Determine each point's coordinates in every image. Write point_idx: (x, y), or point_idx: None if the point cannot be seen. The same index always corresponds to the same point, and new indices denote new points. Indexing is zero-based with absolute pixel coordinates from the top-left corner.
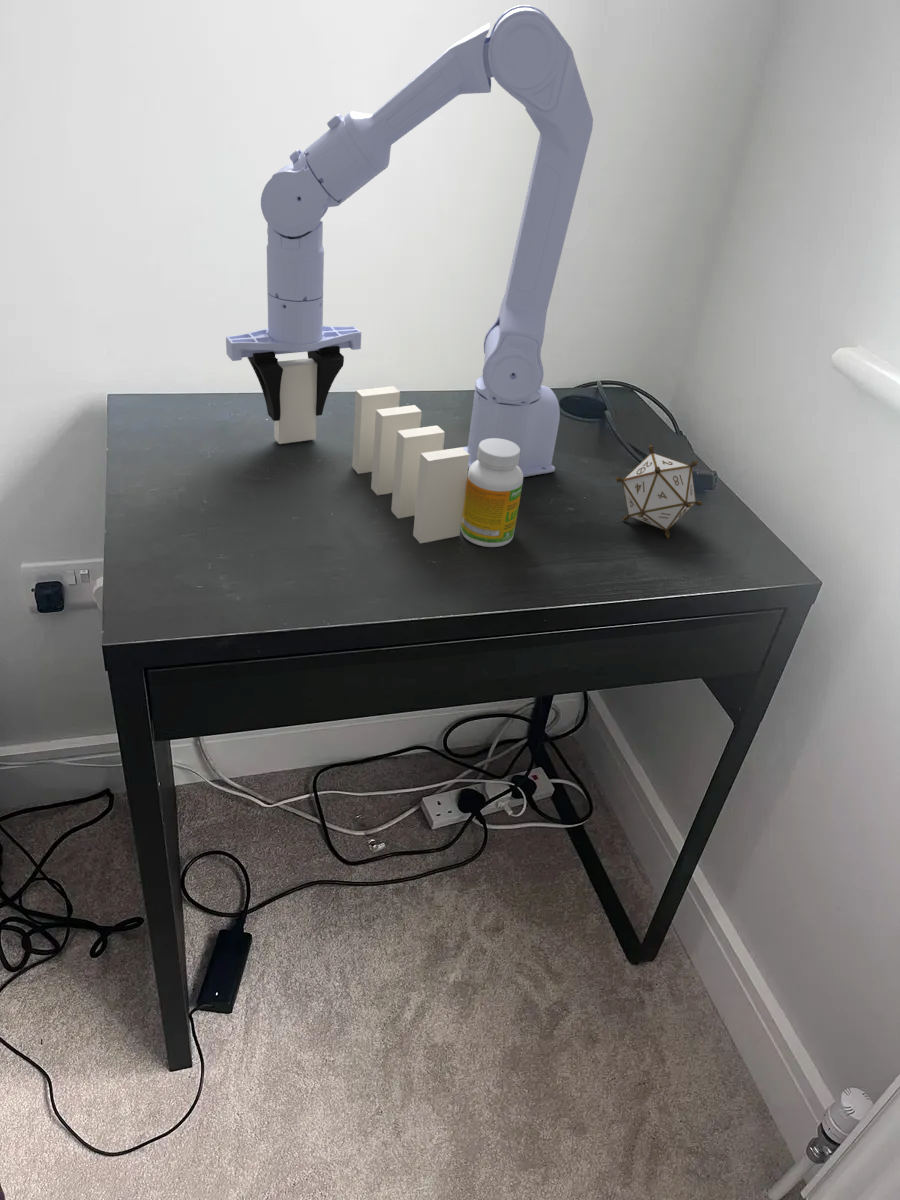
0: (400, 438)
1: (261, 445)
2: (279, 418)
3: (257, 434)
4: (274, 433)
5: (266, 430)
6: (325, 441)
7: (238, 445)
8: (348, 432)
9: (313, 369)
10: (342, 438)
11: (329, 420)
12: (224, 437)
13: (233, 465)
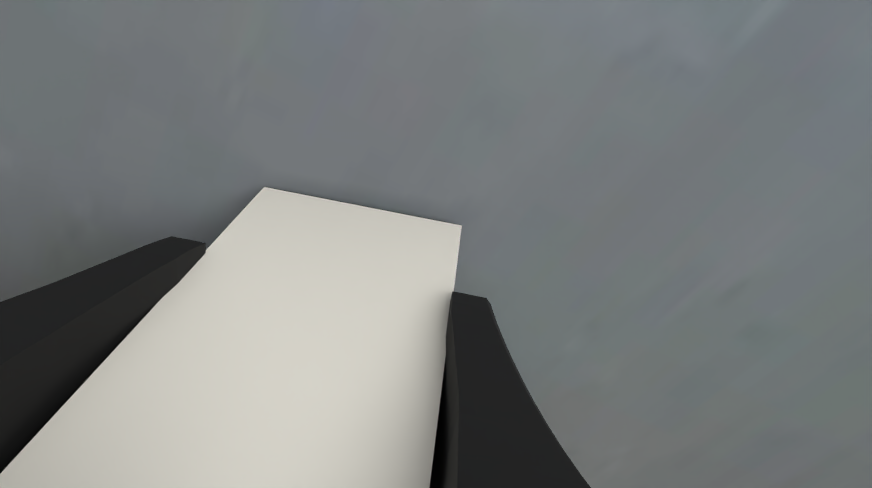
0: None
1: (195, 190)
2: None
3: (214, 73)
4: (254, 200)
5: (278, 51)
6: (495, 290)
7: (88, 141)
8: (660, 267)
9: None
10: (587, 301)
11: (681, 101)
12: (32, 24)
13: (34, 285)
